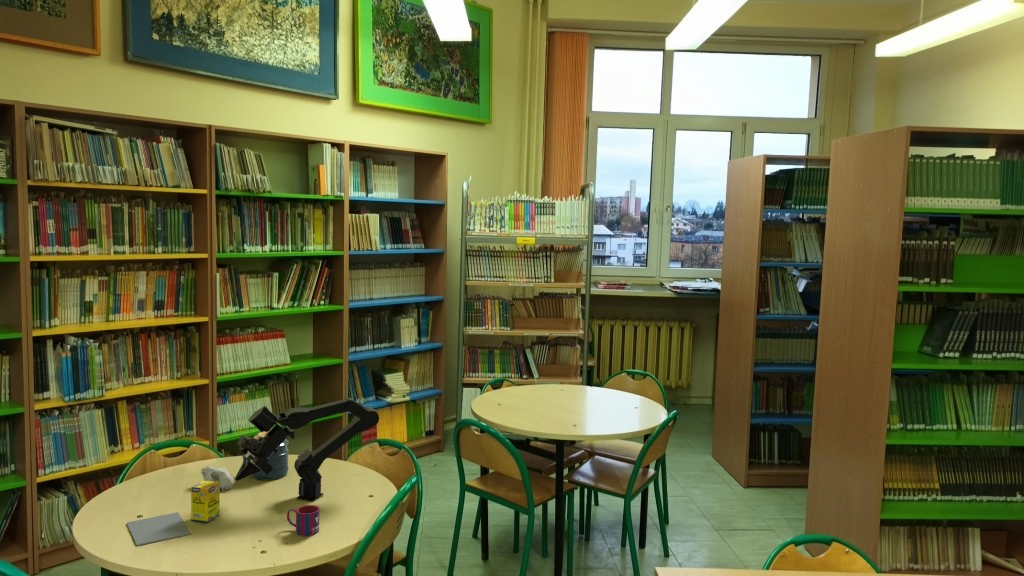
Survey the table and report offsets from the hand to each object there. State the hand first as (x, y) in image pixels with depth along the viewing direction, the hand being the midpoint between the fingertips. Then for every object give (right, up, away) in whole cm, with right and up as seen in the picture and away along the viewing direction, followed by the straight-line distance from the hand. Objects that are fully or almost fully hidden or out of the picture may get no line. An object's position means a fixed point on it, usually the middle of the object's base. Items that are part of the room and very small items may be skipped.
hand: (235, 480), depth 214 cm
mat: (-17, -10, -15) cm, 25 cm away
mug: (+25, -12, -12) cm, 30 cm away
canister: (-1, -8, +33) cm, 34 cm away
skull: (-14, -8, +20) cm, 25 cm away
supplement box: (-7, -10, -7) cm, 14 cm away
